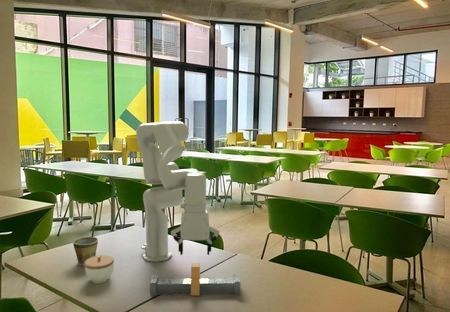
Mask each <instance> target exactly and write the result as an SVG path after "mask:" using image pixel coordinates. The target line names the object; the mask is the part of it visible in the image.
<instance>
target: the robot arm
mask: <svg viewBox="0 0 450 312" xmlns="http://www.w3.org/2000/svg"><path fill="white" fill-rule="evenodd" d="M135 135H136V142H137V146H138V148H139V150H140V153H141V159H142V168H143V177H144V180H145V183H146V184H148V185H162V186H158V187H157V186H156V187H151V188H148V189H147V190H144V192H143V195H142V200H143V206H144V213H145V214H144V215H145V234H146V235H145V238H146V239H145V240H146V243H144V242H143V245H142V246H141V250H144V253H143V256H142V257H143V260H145V261H147V262H152V263H155V262H156V263H158V262H163V261H168V260H169V259H171V257H172V251H170V250H169V237H168V236H169V235H168V234H169V233H168V232H169V229H168V223H169V222H168V221H169V220H168V217H167V214H166V213H165V212H164V211H163V209H167V208H168V209H169V208H173V207H178V206H180V209H183V210H182V213H181V219H180V225H179V226H178V227H176V228H174V229H172V230H170V235H171V236H172V237H173V240H174V241H175V242H176V243H177V244H178V252H179V253H180V256H182V255H183V254H184V242H183V241H206V242H207V247H206V250H207V252H206V253H207V254H206V255H208V256H209V255H210V252H212V244H213V243H214V242H215V241H216V240H217V239H218V236H219V234H220V230H219V229H216V228H214V227H213V226H210V217H209V211H208V209H207V176H206V174H204V172H203V173H202V172H200V171H199V170H198V169H196V168H183V169H182V168H181V169H180V168H179V166H178V164H177V163H175V162H174V161H175V160H178V159H179V158H180V157H181V156H182V155H183V152H184V147H183V144H182V142H185V141H187V140H188V138H189V135H190V132H189V128H188V126H187V124H186V123H184V122H183V121H161V122H148V123H142V124H139V125H138V127H137V128H136V133H135ZM155 143H157V145H156V144H155ZM183 190H184V198H183ZM183 199H184V202H183ZM182 202H183V203H182ZM179 232H180V237H179V236H178V235H177V234H178V233H179ZM210 232H211V233H213V235H212V236H210Z"/></svg>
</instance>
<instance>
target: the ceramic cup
mask: <svg viewBox="0 0 450 312" xmlns="http://www.w3.org/2000/svg"><path fill="white" fill-rule="evenodd" d="M98 241H99V239H98V238H97V237H95V236H83V237H79V238H76V239H74V240H73V241H72V244H73V248H74V251H75V255H76V259H77V264H78V265H79V266H81V265H83V266H82V267H85V264H84V263H85V261H86V260H87V259H89V258H91V257H95V256H97V255H96V254H97V248H98V243H99V242H98Z"/></svg>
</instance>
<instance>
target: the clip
mask: <svg viewBox="0 0 450 312" xmlns="http://www.w3.org/2000/svg"><path fill="white" fill-rule="evenodd" d="M190 270H191V271H190V273H191V275H190V276H191V277H190V278H191V294H190V296H200V295H201V294H200V278H201V263H200V262H199V263H197V262H196V263H193V262H192V263H191V266H190Z"/></svg>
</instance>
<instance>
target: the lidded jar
mask: <svg viewBox="0 0 450 312" xmlns="http://www.w3.org/2000/svg"><path fill="white" fill-rule="evenodd" d="M84 264H85V266H84V271H85V275H86V277H87V279H89V280H90V281H91V282H92V283H93V284H101V283H103V284H104V283H105V282H108V280H109V278H110V277H111V276H112V274H113V272H114V257H112V256H110V255H96V256H95V257H91V258H89V259H87V260H86V261H85V263H84Z"/></svg>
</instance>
